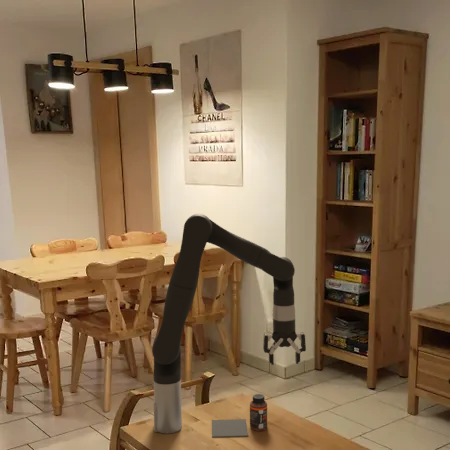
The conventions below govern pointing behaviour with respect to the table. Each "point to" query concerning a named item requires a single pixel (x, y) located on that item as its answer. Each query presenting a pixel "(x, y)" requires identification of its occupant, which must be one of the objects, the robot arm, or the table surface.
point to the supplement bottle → (258, 413)
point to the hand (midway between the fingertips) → (284, 363)
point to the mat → (229, 428)
